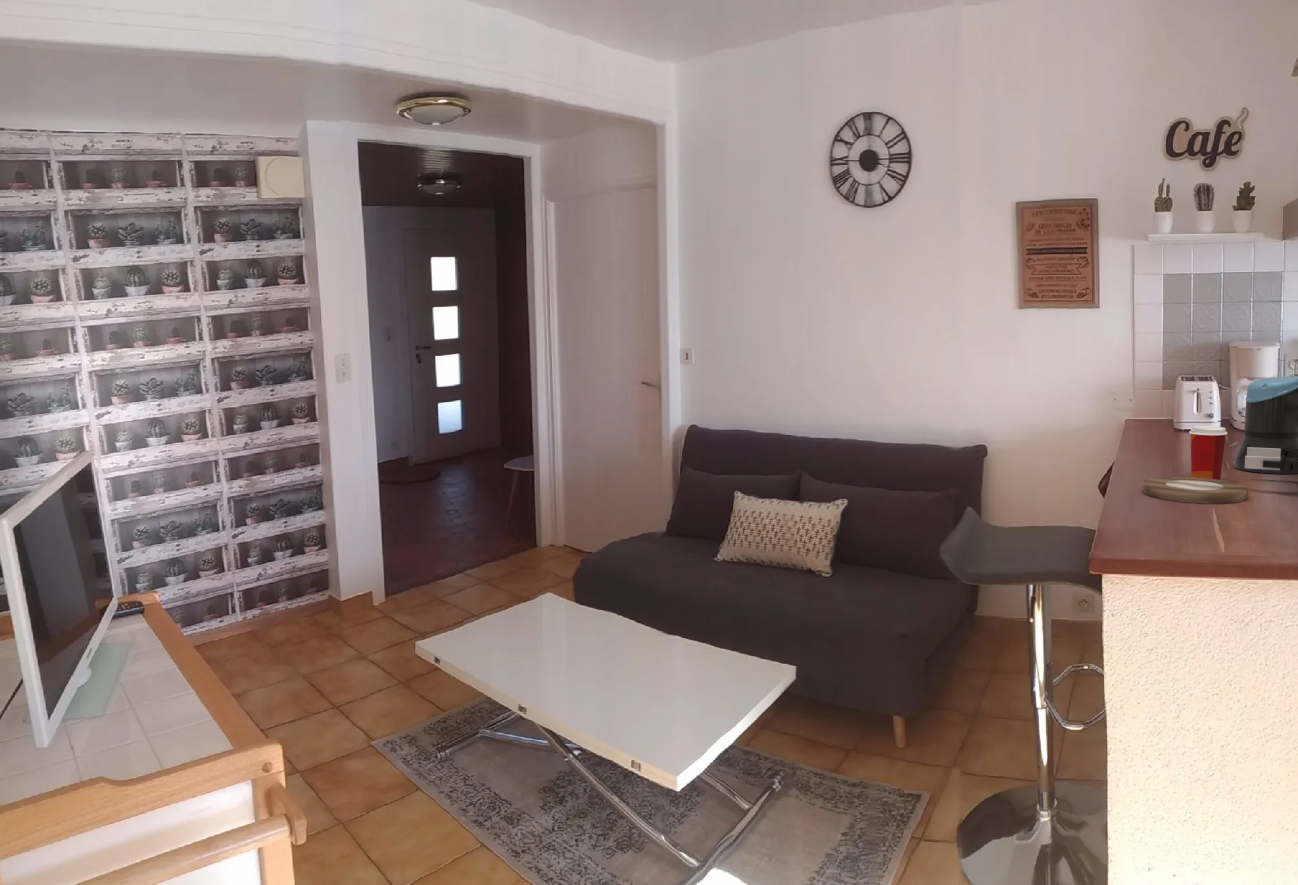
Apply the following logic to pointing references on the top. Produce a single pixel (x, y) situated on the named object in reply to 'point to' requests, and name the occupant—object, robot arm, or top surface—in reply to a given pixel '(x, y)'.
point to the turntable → (1195, 490)
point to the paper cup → (1207, 451)
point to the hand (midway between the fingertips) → (1245, 457)
